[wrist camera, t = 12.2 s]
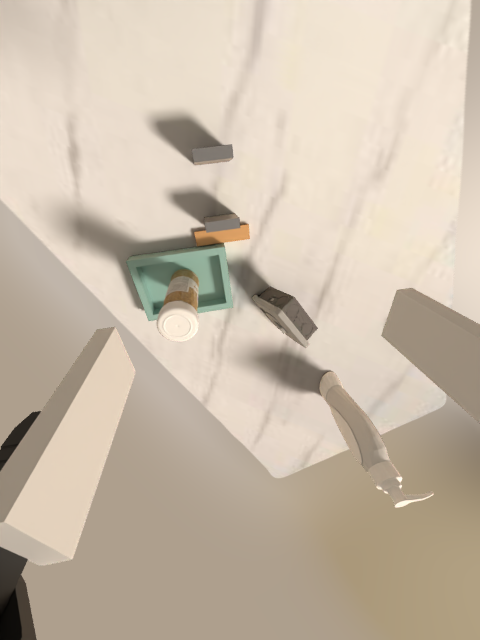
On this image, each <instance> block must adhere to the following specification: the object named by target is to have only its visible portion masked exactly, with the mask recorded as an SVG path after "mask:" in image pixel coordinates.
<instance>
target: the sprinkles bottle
mask: <svg viewBox="0 0 480 640" xmlns="http://www.w3.org/2000/svg"><path fill="white" fill-rule="evenodd" d="M198 288H199V279H198V277H197V275H196V274H195V273H194V272H192V271H190V270H187V269H180V270H177V271H176V272H174V274H173V275H172V277H171V280H170V284H169V287H168V290H167V293H166V296H165V299H164V304H163V307H162V308H161V310H160V312H159V315H158V318H157V328H158V331H159V332H160V334H161V335H162V336H163V337H165V338H166V339H168V340H171V341H176V342H180V341H185V340H188V339H190V338H191V337H193V336H194V335H195V333H196V332H197V329H198V323H199V318H198V313H197V307H198Z"/></svg>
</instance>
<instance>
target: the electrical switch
mask: <svg viewBox="0 0 480 640" xmlns="http://www.w3.org/2000/svg"><path fill="white" fill-rule="evenodd" d="M292 298H293V296H291V295H289V294H286V293H284V292H282V291H279V290H277V289H275V288H272V287H269V288H268V289H267V290H266V291H265V292H263V293H262V294H261V295H260V296H259V297H258V296H257V295H254V296H253V297H252V299H253V301H254V302H255V303H256V304H257V305H258V306H259V307H260V309H261V310H262V311H263V312H264V313H265V314H266V315H267V316H268V318H269V319H270V320H271V321H272V322H273V323H274V324H275V325H276V326H277V328H278V329H280V330H281V331H282V332H283V333H285V334H286V335H287V336H289V337H290V338H292V339H293V340H294V341H296V342H297V343H299V344H300V345H302V346H303V347H305V348H306V347H308V346H309V345H310V344H309V343H308V341H307V340H308V339H309V338H310V337H311V335H312V334H313V333H314V332H315V331H316V330H317V329H318V328H317V327H316V325H315V324H314V323H313V321H312V320H311V319H310V317H309V316H308V315H307V313H306V312H305V311H304V309H303V308H302V307H301V305H300V304H299V303H298V301H297V300H296V299H295V297H294V298H293V299H292ZM291 299H292V300H291Z"/></svg>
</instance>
